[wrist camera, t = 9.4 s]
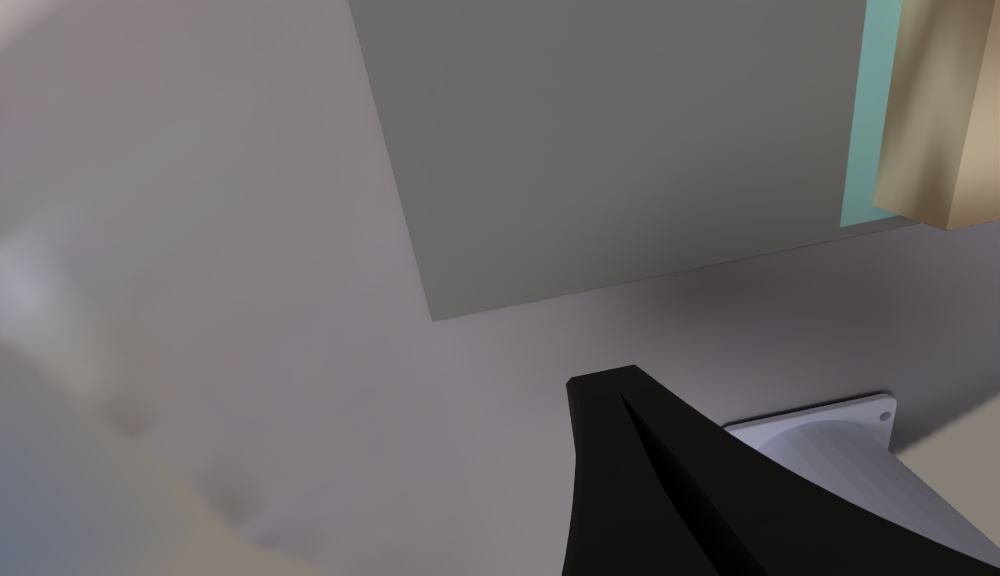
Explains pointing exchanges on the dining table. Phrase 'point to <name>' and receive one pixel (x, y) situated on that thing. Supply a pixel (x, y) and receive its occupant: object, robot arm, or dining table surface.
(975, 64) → the t block
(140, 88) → the dining table surface
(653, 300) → the dining table surface
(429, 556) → the dining table surface
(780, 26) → the push mat
